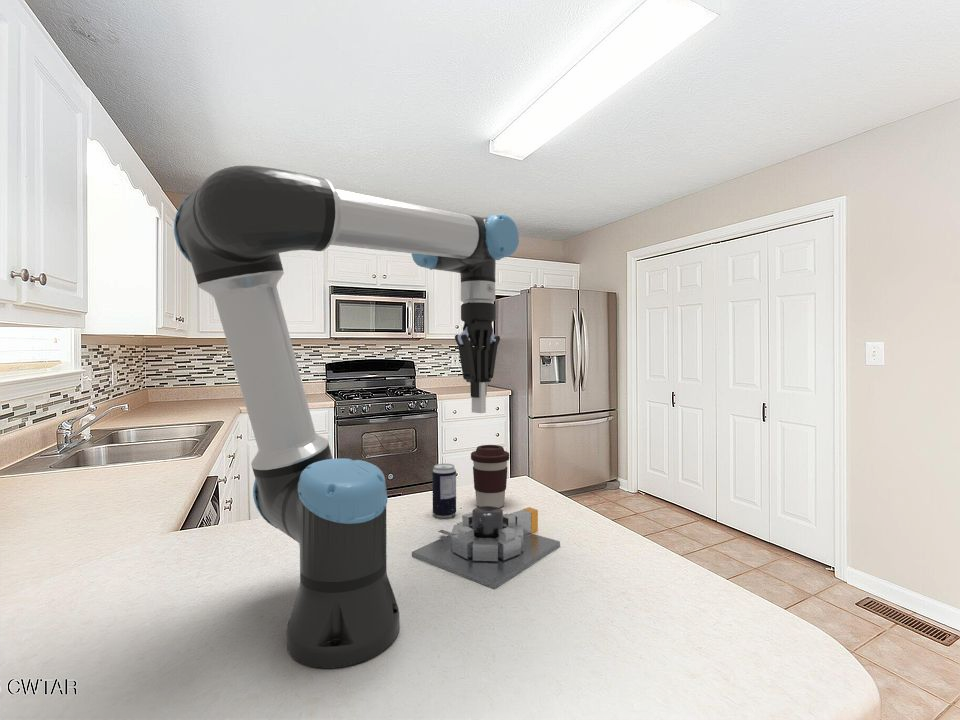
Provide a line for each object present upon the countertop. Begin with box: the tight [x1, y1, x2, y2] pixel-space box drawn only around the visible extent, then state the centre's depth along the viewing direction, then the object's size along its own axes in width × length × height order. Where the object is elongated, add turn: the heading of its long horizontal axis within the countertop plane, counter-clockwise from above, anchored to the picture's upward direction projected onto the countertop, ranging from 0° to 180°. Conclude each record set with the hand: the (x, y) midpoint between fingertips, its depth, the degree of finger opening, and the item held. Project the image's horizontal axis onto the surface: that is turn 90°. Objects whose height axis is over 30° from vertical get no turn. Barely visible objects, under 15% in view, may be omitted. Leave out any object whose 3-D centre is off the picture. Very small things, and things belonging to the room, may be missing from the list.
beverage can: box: [431, 463, 457, 519], centre depth 114 cm, size 6×6×12 cm
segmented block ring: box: [450, 506, 539, 561], centre depth 95 cm, size 14×20×5 cm
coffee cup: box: [470, 444, 510, 509], centre depth 122 cm, size 10×10×15 cm
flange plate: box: [411, 506, 561, 590], centre depth 95 cm, size 24×23×8 cm
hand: (478, 412), depth 102 cm, fingers closed
